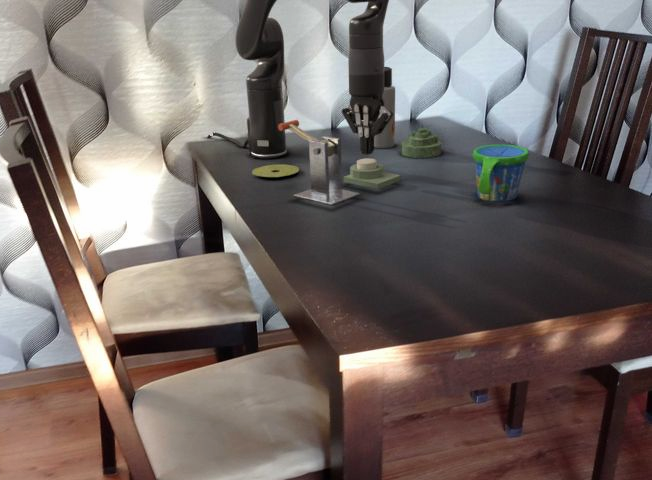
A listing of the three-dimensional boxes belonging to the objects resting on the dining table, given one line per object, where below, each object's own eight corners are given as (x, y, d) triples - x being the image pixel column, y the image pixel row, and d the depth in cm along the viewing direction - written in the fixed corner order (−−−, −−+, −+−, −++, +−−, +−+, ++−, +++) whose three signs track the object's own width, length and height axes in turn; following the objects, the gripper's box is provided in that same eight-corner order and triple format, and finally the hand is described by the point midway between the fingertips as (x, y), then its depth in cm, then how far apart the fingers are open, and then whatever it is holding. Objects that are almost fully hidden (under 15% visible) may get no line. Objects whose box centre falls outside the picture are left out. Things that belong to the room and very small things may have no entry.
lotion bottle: (394, 143, 192) (395, 65, 182) (394, 148, 187) (395, 68, 177) (373, 143, 193) (373, 66, 183) (373, 148, 188) (373, 69, 178)
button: (352, 169, 157) (352, 161, 156) (365, 165, 160) (365, 157, 159) (368, 172, 154) (368, 164, 154) (380, 167, 157) (380, 160, 156)
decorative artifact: (426, 146, 187) (394, 152, 184) (427, 119, 184) (394, 124, 180) (448, 154, 179) (415, 160, 175) (450, 125, 175) (416, 131, 172)
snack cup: (502, 215, 136) (507, 162, 131) (454, 206, 142) (457, 155, 137) (537, 194, 146) (542, 145, 141) (490, 187, 152) (494, 139, 147)
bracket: (294, 201, 151) (290, 140, 144) (322, 191, 156) (320, 132, 150) (332, 210, 144) (330, 147, 138) (360, 199, 149) (359, 138, 143)
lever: (277, 131, 149) (279, 120, 147) (293, 126, 152) (295, 116, 150) (320, 159, 143) (323, 148, 142) (336, 154, 146) (339, 143, 145)
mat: (244, 177, 169) (243, 169, 168) (285, 169, 174) (284, 161, 173) (265, 187, 161) (265, 179, 160) (308, 178, 165) (307, 170, 164)
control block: (343, 186, 159) (342, 168, 157) (365, 178, 164) (365, 160, 162) (378, 193, 152) (378, 175, 150) (400, 184, 157) (400, 167, 155)
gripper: (402, 69, 145) (401, 154, 154) (353, 66, 153) (355, 146, 162) (380, 74, 141) (380, 161, 149) (331, 71, 149) (333, 153, 157)
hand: (367, 153), depth 155 cm, fingers closed
